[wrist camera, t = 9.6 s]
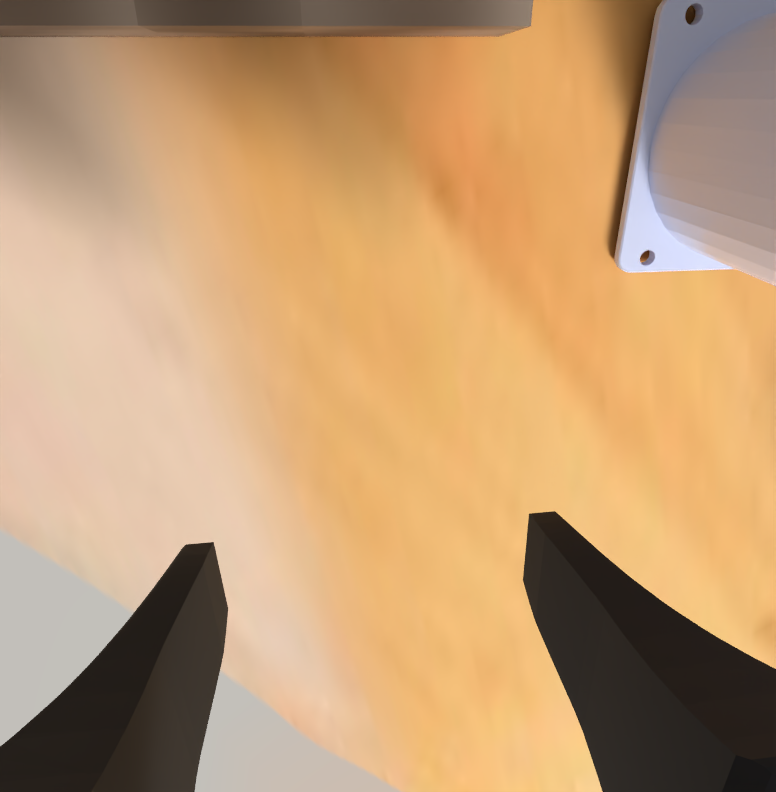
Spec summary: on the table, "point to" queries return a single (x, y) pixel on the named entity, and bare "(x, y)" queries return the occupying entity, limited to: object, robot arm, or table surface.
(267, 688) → the table surface
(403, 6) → the post foot
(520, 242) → the table surface
